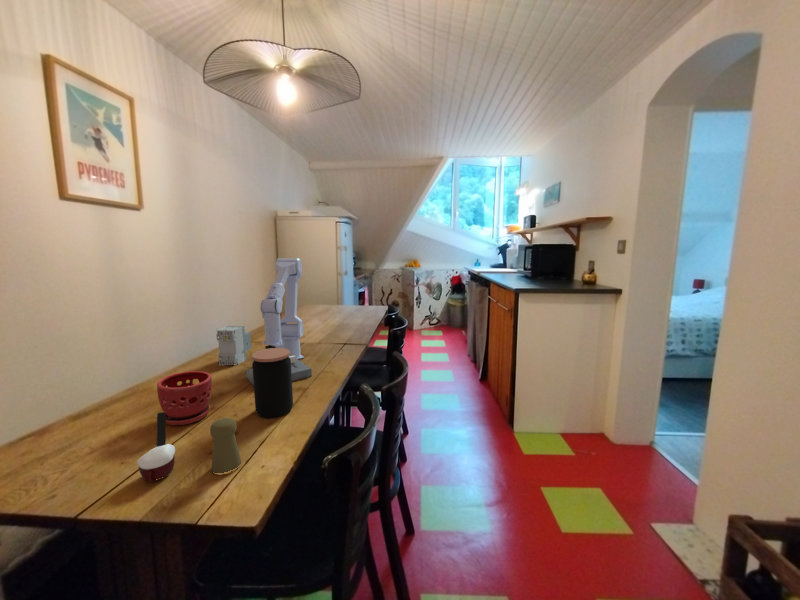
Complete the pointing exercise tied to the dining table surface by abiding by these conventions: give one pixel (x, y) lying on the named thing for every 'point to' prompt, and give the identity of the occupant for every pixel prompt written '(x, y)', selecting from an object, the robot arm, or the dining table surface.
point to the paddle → (293, 359)
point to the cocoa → (158, 455)
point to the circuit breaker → (233, 344)
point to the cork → (224, 446)
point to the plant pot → (185, 397)
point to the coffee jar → (272, 382)
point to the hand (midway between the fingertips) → (275, 363)
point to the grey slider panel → (297, 370)
